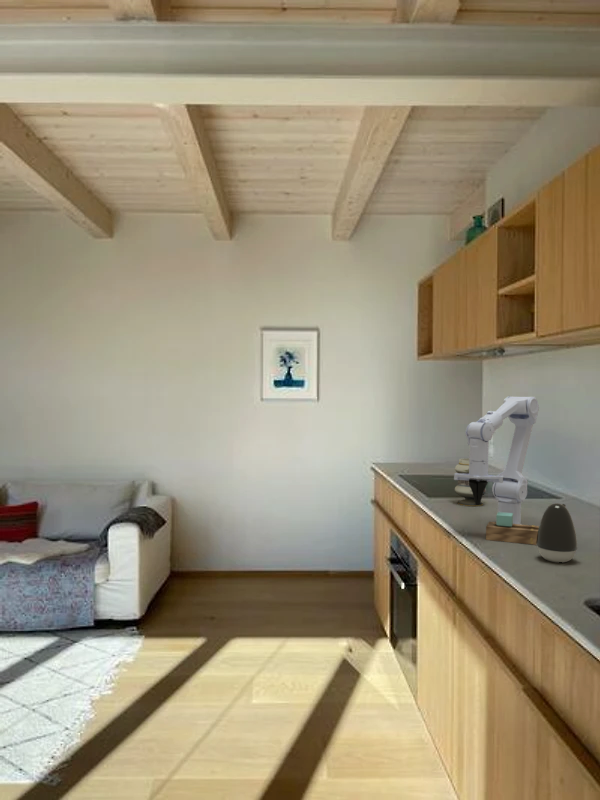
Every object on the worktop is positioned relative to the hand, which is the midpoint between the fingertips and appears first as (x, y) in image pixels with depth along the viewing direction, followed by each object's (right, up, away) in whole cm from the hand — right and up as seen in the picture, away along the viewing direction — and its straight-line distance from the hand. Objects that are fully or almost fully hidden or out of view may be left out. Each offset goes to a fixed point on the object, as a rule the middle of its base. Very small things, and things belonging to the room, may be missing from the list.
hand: (477, 504), depth 192 cm
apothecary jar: (+13, -9, +55) cm, 57 cm away
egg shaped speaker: (+14, -11, -26) cm, 31 cm away
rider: (+7, -8, -3) cm, 11 cm away
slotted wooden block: (+14, -10, -6) cm, 18 cm away
